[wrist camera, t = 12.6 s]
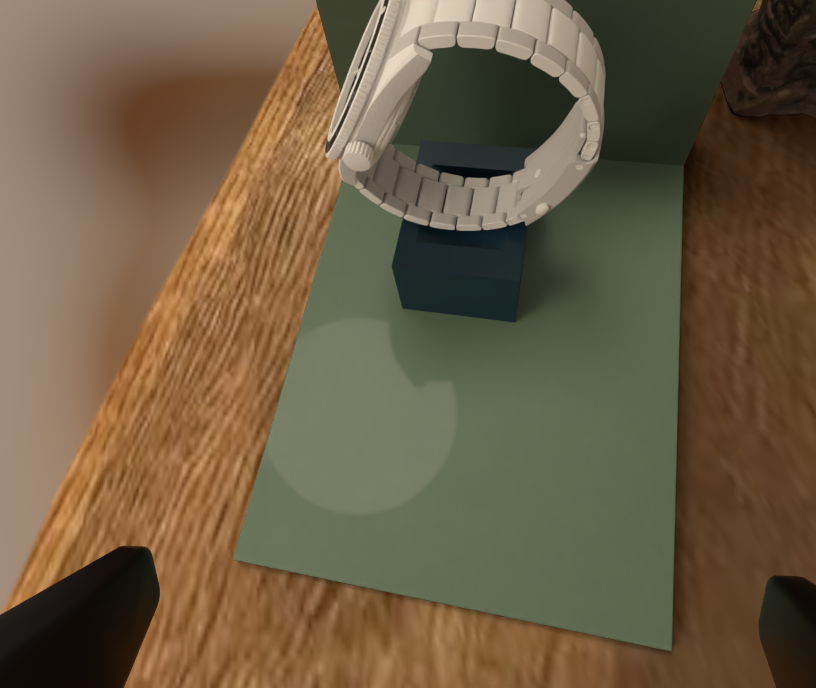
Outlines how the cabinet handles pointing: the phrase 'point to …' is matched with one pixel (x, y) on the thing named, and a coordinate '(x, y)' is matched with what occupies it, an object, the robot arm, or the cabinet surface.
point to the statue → (775, 61)
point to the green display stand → (507, 355)
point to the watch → (465, 147)
